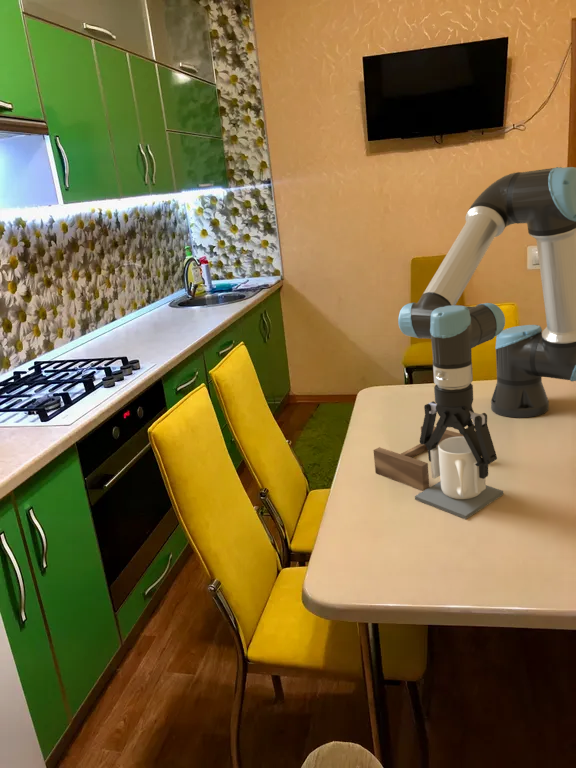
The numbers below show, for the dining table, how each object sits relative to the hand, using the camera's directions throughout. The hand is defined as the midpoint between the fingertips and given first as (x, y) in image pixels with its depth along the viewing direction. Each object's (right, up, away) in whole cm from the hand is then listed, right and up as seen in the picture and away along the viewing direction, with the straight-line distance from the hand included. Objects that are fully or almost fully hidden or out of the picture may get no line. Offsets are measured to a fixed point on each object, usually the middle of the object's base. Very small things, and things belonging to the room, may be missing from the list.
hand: (458, 483), depth 130 cm
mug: (+1, -3, 0) cm, 3 cm away
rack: (-3, +1, +16) cm, 17 cm away
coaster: (0, -3, +1) cm, 3 cm away
